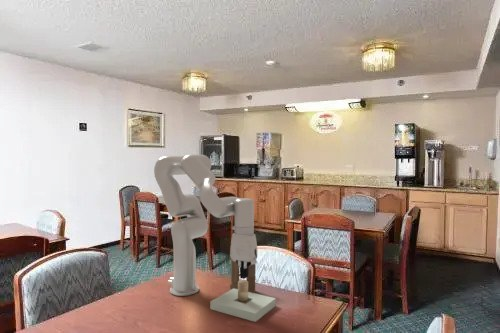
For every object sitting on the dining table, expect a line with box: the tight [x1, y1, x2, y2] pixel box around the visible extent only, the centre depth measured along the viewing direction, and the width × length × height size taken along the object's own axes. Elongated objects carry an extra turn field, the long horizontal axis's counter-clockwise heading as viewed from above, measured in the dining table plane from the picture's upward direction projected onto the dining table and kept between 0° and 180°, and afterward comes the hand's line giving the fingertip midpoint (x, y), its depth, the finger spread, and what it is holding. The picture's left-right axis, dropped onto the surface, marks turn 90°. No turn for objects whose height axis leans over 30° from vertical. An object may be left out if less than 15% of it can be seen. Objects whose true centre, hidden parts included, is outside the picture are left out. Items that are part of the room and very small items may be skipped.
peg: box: [238, 279, 248, 304], centre depth 135 cm, size 4×4×10 cm
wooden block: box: [229, 257, 257, 294], centre depth 152 cm, size 4×11×18 cm, turn 84°
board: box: [210, 288, 277, 323], centre depth 135 cm, size 20×16×3 cm
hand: (244, 277), depth 135 cm, fingers closed
